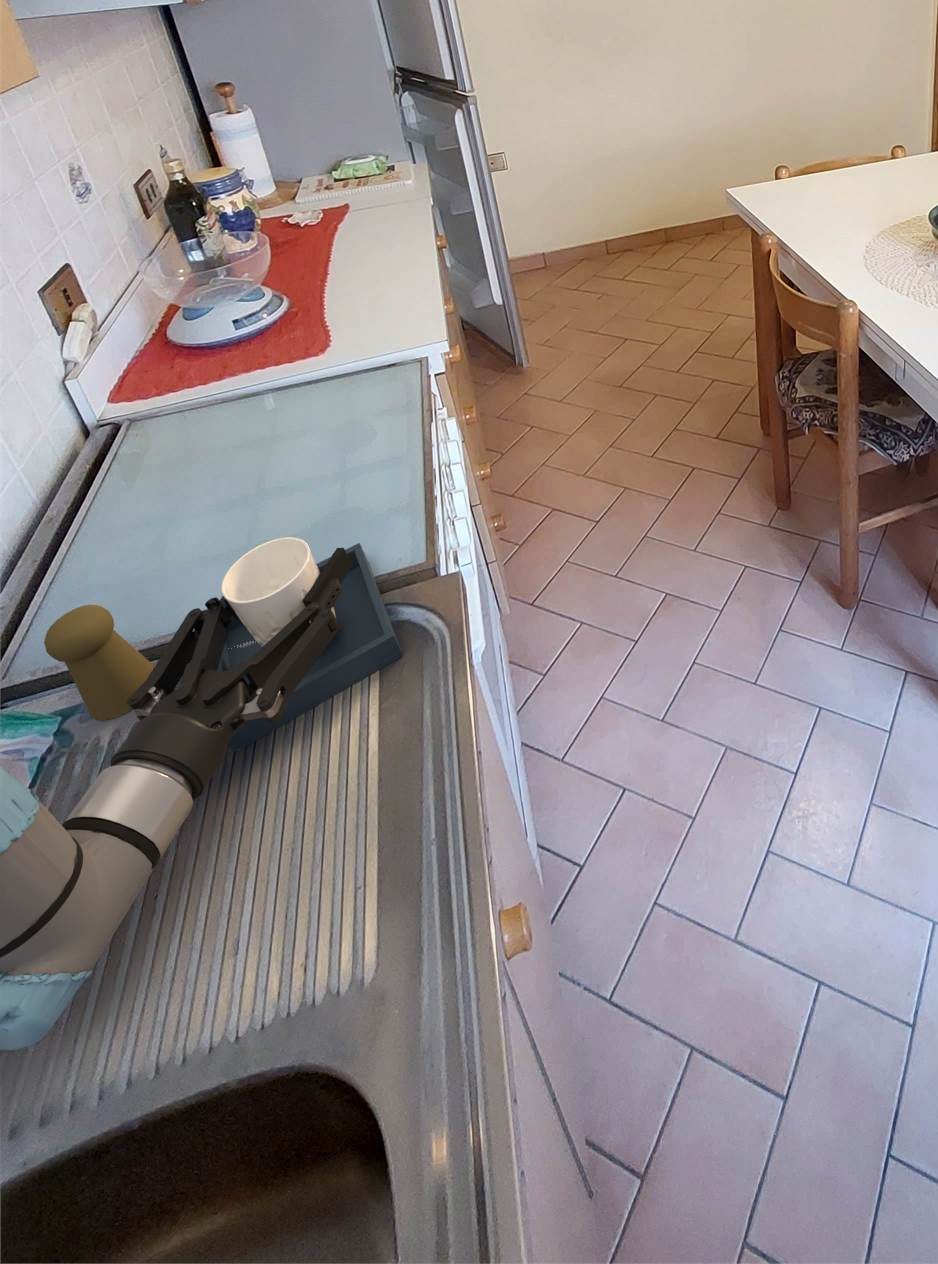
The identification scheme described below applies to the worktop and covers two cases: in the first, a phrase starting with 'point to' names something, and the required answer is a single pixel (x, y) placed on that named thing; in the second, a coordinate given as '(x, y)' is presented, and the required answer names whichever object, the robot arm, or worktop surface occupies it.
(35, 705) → the worktop surface
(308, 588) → the white cup
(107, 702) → the cork
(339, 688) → the shallow grey tray
